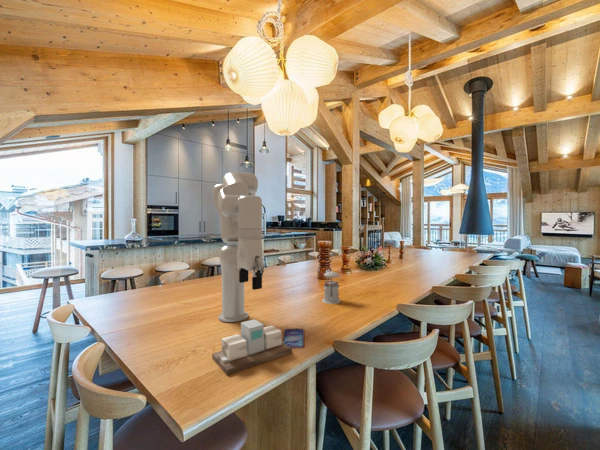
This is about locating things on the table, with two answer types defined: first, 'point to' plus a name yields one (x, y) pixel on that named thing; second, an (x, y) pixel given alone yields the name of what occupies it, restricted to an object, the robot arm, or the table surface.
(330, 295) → the french press
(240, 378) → the table surface
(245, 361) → the rail board
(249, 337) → the module block
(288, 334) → the smartphone
